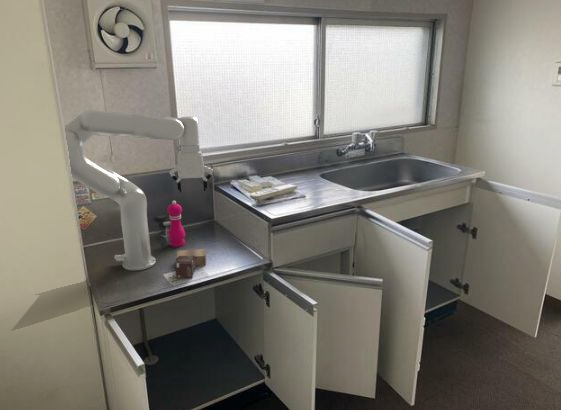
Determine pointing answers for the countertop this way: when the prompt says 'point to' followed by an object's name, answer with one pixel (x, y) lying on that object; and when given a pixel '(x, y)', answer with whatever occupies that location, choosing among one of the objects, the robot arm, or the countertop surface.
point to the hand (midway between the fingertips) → (192, 190)
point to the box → (185, 266)
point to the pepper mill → (176, 225)
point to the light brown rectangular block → (198, 253)
